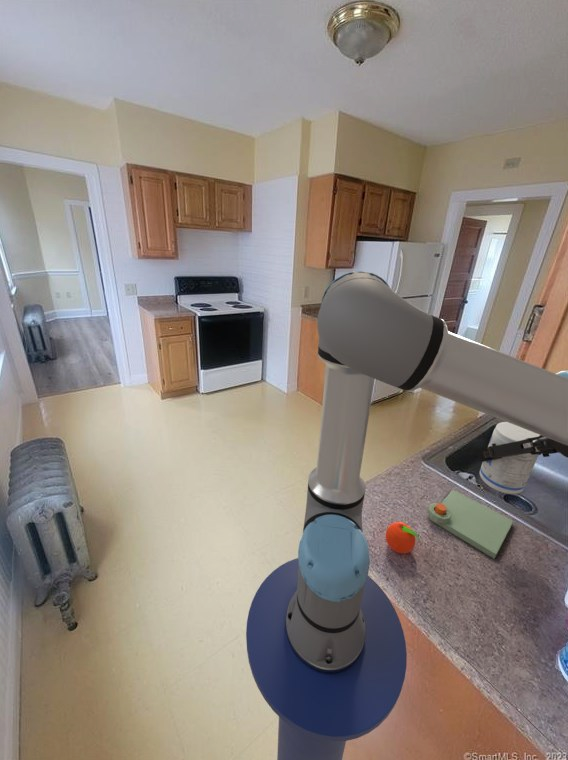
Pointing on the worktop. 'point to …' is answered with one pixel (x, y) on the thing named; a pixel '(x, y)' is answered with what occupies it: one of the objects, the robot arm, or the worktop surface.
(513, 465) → the supplement tub
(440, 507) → the tare button
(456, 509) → the scale
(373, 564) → the worktop surface
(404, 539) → the clementine
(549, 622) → the worktop surface
